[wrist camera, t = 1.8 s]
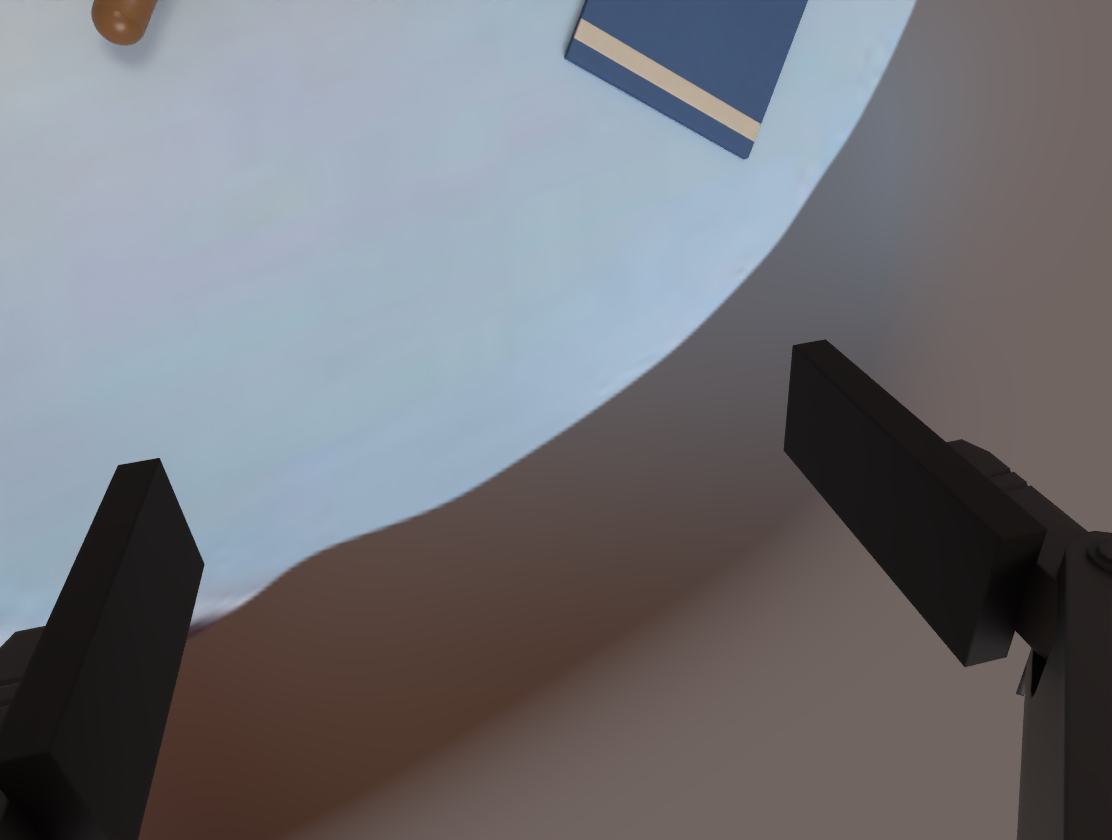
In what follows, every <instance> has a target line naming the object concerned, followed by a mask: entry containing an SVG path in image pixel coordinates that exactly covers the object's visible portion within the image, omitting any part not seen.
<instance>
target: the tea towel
mask: <svg viewBox="0 0 1112 840" xmlns="http://www.w3.org/2000/svg"><path fill="white" fill-rule="evenodd" d="M807 1H808V0H586V2H585V5H584V7H583V10H582V12H581V15H580V18H579V20H578V23H577V26H576V28H575V31H574V34H573V36H572V39H571V41H570V44H569V47H568V49H567V52H566V55H565V59H567V60H569V61H571V62H573V63H574V64H576V65H578V66H580V67H581V68H583V69H585V70H587V71H588V72H590V73H592V74H594V75H596V76H597V77H599V78H601V79H603V80H604V81H606V82H608V83H610V84H612V85H613V86H615V87H617V88H619V89H620V90H622V91H624V92H626V93H627V94H629V95H631V96H633V97H635V98H636V99H638V100H640V101H642V102H643V103H645V104H647V105H649V106H651V107H652V108H654V109H656V110H658V111H659V112H661V113H663V114H665V115H666V116H668V117H670V118H672V119H674V120H675V121H677V122H679V123H681V124H682V125H684V126H686V127H688V128H690V129H691V130H693V131H695V132H697V133H698V134H700V135H702V136H704V137H705V138H707V139H709V140H711V141H713V142H714V143H716V144H718V145H720V146H721V147H723V148H725V149H727V150H728V151H730V152H732V153H734V154H736V155H737V156H739V157H741V158H743V159H747V158H748V157H749V154H750V152H751V149H752V147H753V144H754V142H755V139H756V137H757V134H758V132H759V129H760V126H761V123H762V120H763V117H764V115H765V112H766V110H767V107H768V104H769V102H770V99H771V96H772V94H773V91H774V88H775V86H776V83H777V81H778V78H779V75H780V73H781V70H782V67H783V65H784V62H785V59H786V57H787V54H788V51H789V49H790V46H791V44H792V41H793V38H794V36H795V33H796V30H797V28H798V25H799V22H800V20H801V17H802V14H803V12H804V9H805V7H806V4H807Z"/></svg>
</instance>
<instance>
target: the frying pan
mask: <svg viewBox="0 0 1112 840" xmlns="http://www.w3.org/2000/svg"><path fill="white" fill-rule="evenodd" d="M156 2H157V0H94V3H93V6H92V12H91V15H92V20H93V23H94V25H95V27H96V29H97V30H98V32H99V33H100V34H101V35H102V36H103V37H104V38H105V39H107V40H108V41H110V42H112V43H114V44H118V45H132V44H134V43H136V42H138V41H139V40H140V39H141V38H142V37H143V35H144V33H145V31H146V28H147V26H148V23H149V20H150V18H151V15H152V13H153V10H154V7H155V5H156Z"/></svg>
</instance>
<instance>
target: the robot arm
mask: <svg viewBox="0 0 1112 840" xmlns="http://www.w3.org/2000/svg"><path fill="white" fill-rule="evenodd" d="M784 451H785V453H786V454H787V455H788V456H789V457H790V459H791V460H792V461H793V462H794V463H795V465H796V466H797V467H798V468H799V469H800V470H801V472H802V473H803V474H804V475H805V477H806V478H807V479H808V480H809V481H810V482H811V484H812V485H813V486H814V487H815V488H816V490H817V491H818V492H819V493H820V494H821V495H822V497H823V498H824V499H825V500H826V502H827V503H828V504H829V505H830V506H831V507H832V509H833V510H834V511H835V512H836V514H837V515H838V516H839V517H840V518H841V520H842V521H843V522H844V523H845V524H846V526H847V527H848V528H849V529H850V530H851V532H852V533H853V534H854V535H855V536H856V538H857V539H858V540H859V541H860V542H861V544H862V545H863V546H864V547H865V548H866V550H867V551H868V552H869V553H870V554H871V555H872V556H873V558H874V559H875V560H876V561H877V563H878V564H879V565H880V566H881V567H882V569H883V570H884V571H885V572H886V573H887V575H888V576H889V577H890V578H891V579H892V581H893V582H894V583H895V584H896V585H897V586H898V588H899V589H900V590H901V591H902V593H903V594H904V595H905V596H906V597H907V599H908V600H909V601H910V602H911V603H912V605H913V606H914V607H915V608H916V609H917V610H918V612H919V613H920V614H921V615H922V617H923V618H924V619H925V620H926V621H927V622H928V624H929V625H930V626H931V627H932V629H933V630H934V631H935V632H936V633H937V635H938V636H939V637H940V638H941V639H942V640H943V642H944V643H945V644H946V645H947V647H948V648H949V649H950V650H951V651H952V652H953V654H954V655H955V656H956V657H957V658H958V660H959V661H960V662H961V663H962V664H963V666H964V667H968V666H972V665H976V664H980V663H984V662H988V661H992V660H996V659H1000V658H1005V657H1007V654H1008V651H1009V648H1010V645H1011V641H1012V638H1013V635H1014V632H1015V631H1016V632H1017V633H1018V634H1019V635H1020V636H1021V637H1022V638H1023V639H1024V640H1025V641H1026V642H1027V643H1028V644H1029V645H1030V647H1031V651H1030V654H1029V657H1028V660H1027V663H1026V666H1025V669H1024V672H1023V675H1022V678H1021V680H1020V684H1019V686H1018V689H1017V692H1016V694H1018V695H1021V696H1024V694H1025V702H1024V719H1023V738H1022V756H1021V774H1020V792H1019V812H1018V829H1017V840H1112V533H1108V532H1099V531H1092V532H1088V531H1086V530H1085V529H1084V528H1083V527H1081V526H1080V525H1079V524H1078V523H1076V522H1075V521H1074V520H1073V519H1071V518H1070V517H1069V516H1068V515H1067V514H1065V513H1064V512H1063V511H1062V510H1060V509H1059V508H1058V507H1057V506H1056V505H1054V504H1053V503H1052V502H1051V501H1049V500H1048V499H1047V498H1046V497H1044V496H1043V495H1042V494H1041V493H1039V492H1038V491H1037V490H1036V489H1035V488H1033V487H1032V486H1028V485H1027V482H1026V481H1025V480H1023V479H1022V478H1021V477H1020V476H1018V475H1017V474H1016V473H1015V472H1012V473H1011V471H1010V468H1009V467H1007V466H1006V465H1005V464H1003V463H1002V462H1001V461H1000V460H999V459H998V458H996V457H995V456H994V455H993V454H991V453H990V452H988V451H986V450H984V449H982V448H979V447H977V446H975V445H973V444H971V443H968V442H966V441H964V440H962V439H961V440H956V441H951V442H945V441H944V440H943V439H941V438H940V437H939V436H938V435H937V434H936V433H935V432H933V431H932V430H931V429H930V428H929V427H928V426H926V425H925V424H924V423H923V422H922V421H921V420H919V419H918V418H917V417H916V416H915V415H913V414H912V413H911V412H910V411H909V410H908V409H907V408H905V407H904V406H903V405H902V404H901V403H899V402H898V401H897V400H896V399H895V398H894V397H892V396H891V395H890V394H889V393H888V392H887V391H885V390H884V389H883V388H882V387H881V386H880V385H878V384H877V383H876V382H875V381H874V380H873V379H871V378H870V377H869V376H868V375H867V374H866V373H864V372H863V371H862V370H861V369H859V367H857V366H856V365H855V364H854V363H853V362H851V361H850V360H849V359H848V358H847V357H846V356H844V355H843V354H842V353H841V352H840V351H838V350H837V349H836V348H835V347H834V346H833V345H832V344H830V343H829V342H828V341H827V340H820V341H814V342H809V343H803V344H798V345H793V350H792V360H791V372H790V383H789V395H788V406H787V418H786V429H785V441H784ZM203 568H204V562H203V560H202V557H201V555H200V553H199V550H198V548H197V546H196V543H195V541H194V538H193V536H192V534H191V531H190V529H189V527H188V524H187V522H186V519H185V517H184V515H183V512H182V510H181V508H180V505H179V503H178V500H177V498H176V496H175V493H174V491H173V489H172V486H171V484H170V481H169V479H168V477H167V474H166V472H165V470H164V467H163V465H162V462H161V460H160V458H156V459H151V460H145V461H139V462H134V463H128V464H123V465H118V466H117V469H116V471H115V473H114V475H113V478H112V480H111V482H110V484H109V486H108V489H107V491H106V493H105V495H104V498H103V500H102V502H101V504H100V506H99V509H98V511H97V513H96V515H95V517H94V520H93V522H92V524H91V526H90V529H89V531H88V533H87V535H86V537H85V540H84V542H83V544H82V546H81V548H80V551H79V553H78V555H77V557H76V560H75V562H74V564H73V566H72V568H71V571H70V573H69V575H68V577H67V580H66V582H65V584H64V586H63V588H62V591H61V593H60V595H59V597H58V599H57V602H56V604H55V606H54V608H53V611H52V613H51V615H50V617H49V619H48V622H47V624H46V626H42V627H37V628H32V629H27V630H22V631H17V632H15V633H14V634H13V635H12V636H11V637H10V638H9V639H8V640H7V641H6V642H5V643H4V644H3V645H2V646H1V647H0V840H138V837H139V833H140V828H141V825H142V821H143V816H144V812H145V808H146V804H147V800H148V796H149V792H150V787H151V783H152V779H153V775H154V771H155V767H156V763H157V758H158V754H159V750H160V746H161V742H162V738H163V734H164V730H165V725H166V721H167V717H168V713H169V709H170V705H171V701H172V696H173V692H174V688H175V684H176V679H177V676H178V672H179V667H180V663H181V659H182V655H183V651H184V647H185V643H186V639H187V634H188V630H189V626H190V622H191V618H192V614H193V610H194V605H195V601H196V597H197V593H198V589H199V585H200V581H201V577H202V572H203Z"/></svg>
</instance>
